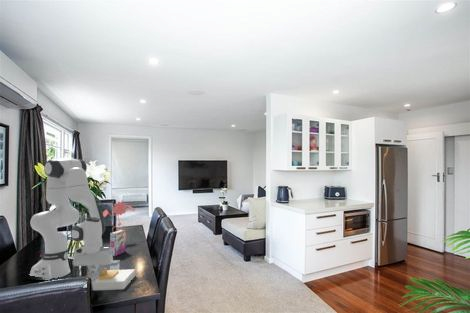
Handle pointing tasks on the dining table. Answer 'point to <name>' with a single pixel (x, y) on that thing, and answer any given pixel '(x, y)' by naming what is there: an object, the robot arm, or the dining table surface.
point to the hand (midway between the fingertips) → (93, 273)
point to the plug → (114, 265)
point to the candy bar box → (118, 242)
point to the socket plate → (115, 280)
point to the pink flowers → (118, 211)
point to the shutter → (107, 274)
